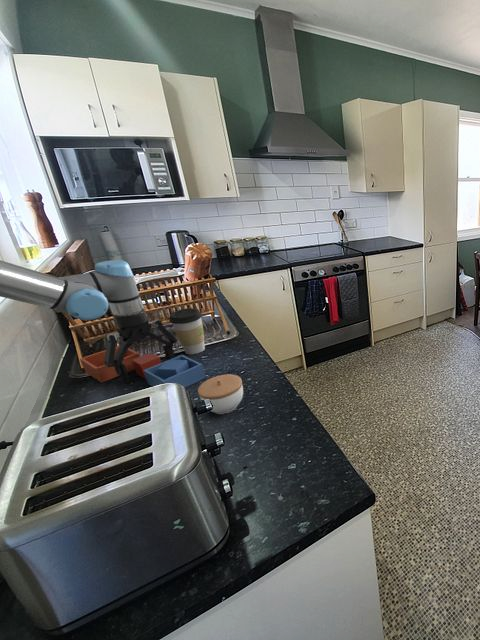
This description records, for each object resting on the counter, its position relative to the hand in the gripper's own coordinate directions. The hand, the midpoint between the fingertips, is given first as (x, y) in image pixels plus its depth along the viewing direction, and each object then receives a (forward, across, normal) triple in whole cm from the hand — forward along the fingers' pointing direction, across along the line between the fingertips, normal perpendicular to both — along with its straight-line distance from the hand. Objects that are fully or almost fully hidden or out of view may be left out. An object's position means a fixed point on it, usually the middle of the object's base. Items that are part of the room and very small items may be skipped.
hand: (150, 372), depth 114 cm
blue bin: (0, -2, +12) cm, 12 cm away
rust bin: (0, +5, -12) cm, 13 cm away
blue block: (0, -2, +12) cm, 12 cm away
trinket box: (0, -2, +37) cm, 37 cm away
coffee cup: (0, -16, -3) cm, 16 cm away
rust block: (0, 0, 0) cm, 0 cm away
